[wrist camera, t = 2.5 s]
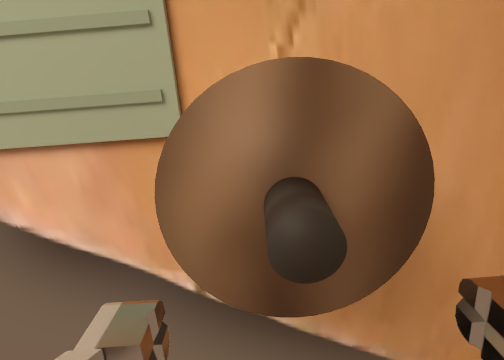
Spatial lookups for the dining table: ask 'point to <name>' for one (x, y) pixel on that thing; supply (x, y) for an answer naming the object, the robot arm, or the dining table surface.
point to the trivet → (85, 72)
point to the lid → (294, 187)
